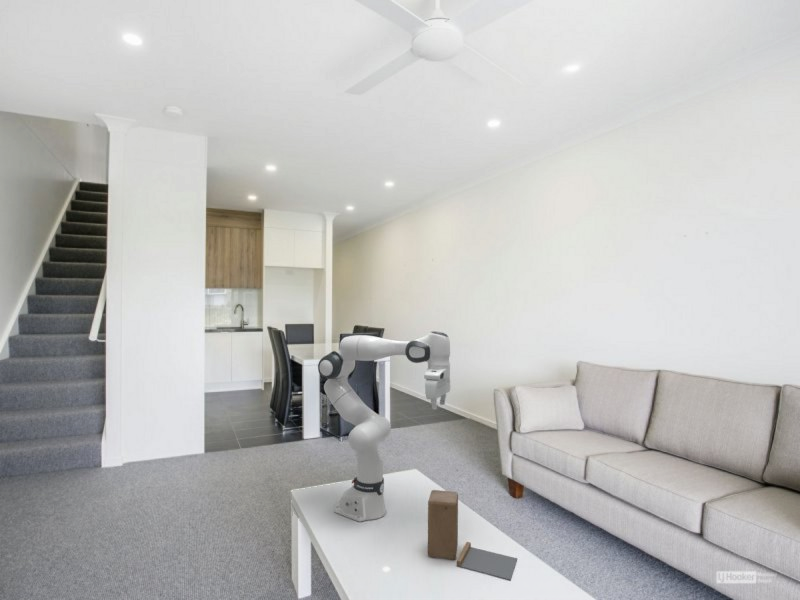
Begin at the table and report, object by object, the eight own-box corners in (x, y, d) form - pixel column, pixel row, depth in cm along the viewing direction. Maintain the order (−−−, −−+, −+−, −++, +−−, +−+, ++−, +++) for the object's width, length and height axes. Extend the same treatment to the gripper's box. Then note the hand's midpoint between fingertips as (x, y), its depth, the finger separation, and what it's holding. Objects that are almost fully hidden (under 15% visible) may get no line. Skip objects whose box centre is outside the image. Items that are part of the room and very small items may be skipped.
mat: (456, 566, 145) (456, 560, 145) (466, 547, 157) (466, 541, 157) (510, 580, 138) (510, 574, 138) (517, 559, 150) (517, 553, 150)
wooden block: (455, 561, 148) (456, 502, 148) (427, 557, 150) (427, 500, 150) (457, 545, 158) (458, 491, 158) (430, 542, 160) (431, 488, 160)
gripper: (439, 368, 183) (439, 401, 182) (422, 375, 164) (422, 411, 164) (454, 369, 180) (453, 402, 180) (438, 376, 161) (437, 413, 161)
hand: (438, 406), depth 172 cm, fingers open, 8 cm apart
